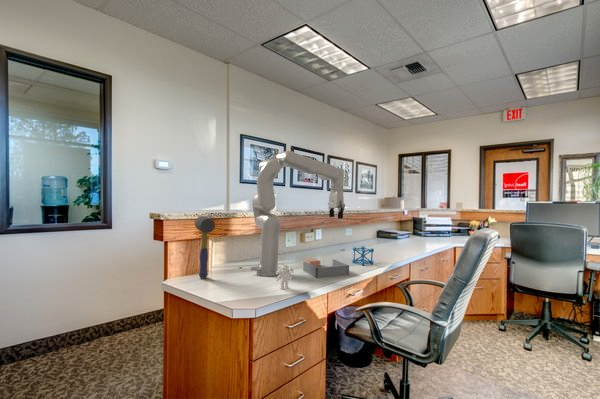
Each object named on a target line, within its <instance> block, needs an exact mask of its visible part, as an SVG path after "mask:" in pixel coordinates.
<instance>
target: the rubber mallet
mask: <svg viewBox="0 0 600 399" xmlns="http://www.w3.org/2000/svg"><path fill="white" fill-rule="evenodd" d="M194 226H195V228H196V229H197V230H198V231H200V232H201V246H200V251H199V272H198V276H199V278H200V279H206V278H207V277H208V275H209V274H208V259H209V252H208V234H209V233H211V232H213V231H214V230H215V227H216V223H215V221H214V220H213V219H212V218H210V217H208V216H199V217H196V219H195V220H194Z"/></svg>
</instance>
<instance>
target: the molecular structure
mask: <svg viewBox="0 0 600 399" xmlns="http://www.w3.org/2000/svg"><path fill="white" fill-rule="evenodd" d="M352 251H353V259H352V260H351V263H352V264H356V263H358V264H360V265H361V266H363V267H364V266H365V265H368V264H370V265H373V264H374V262H375V261H374V260H373V252H374V251H375V249H374V248H373V247H371V248H366V247H365V246H361V247H355V246H354V247H353V248H352ZM356 252H357V254H359V255H360V256H359V257H358V258H356V257H355V256H356ZM370 253H371V254H370ZM368 254H370V256H371V258H370V259H369V258H367V257H366V255H368Z"/></svg>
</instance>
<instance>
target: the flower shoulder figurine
mask: <svg viewBox="0 0 600 399" xmlns="http://www.w3.org/2000/svg"><path fill="white" fill-rule="evenodd" d="M294 270H295V269H294V267H292V266H289V265H288V263H282V262H281V266H280V268H278V270H277V272H276V274H278V273H279V275H277V277H276V280H275V281H276V283H278V281H281V282H280V287H279V290H281V291H283V290H285V289H286V290H287V289H289V284H288V282H289V280H290V281H291V280H292V279H293V277H292V276H293V275H292V274H293V273H294ZM280 278H281V280H280Z"/></svg>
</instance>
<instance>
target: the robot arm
mask: <svg viewBox="0 0 600 399" xmlns="http://www.w3.org/2000/svg"><path fill="white" fill-rule="evenodd" d="M283 168H290V169H293V170H296V171H298V172H301V173H303V174H309V175H317V177H318V178H319V179H320V180H322V181H323V180H324V181H330V192H329V196H328V210H329V212H328V213H329V215H328V216H329V218H334V217H335V209H337V210H338V212H337V219H344V210H345V207H346V204H345V203H344V183H345V182H344V180H345V179H344V178H345V177H344V176H345V171H344V168H340V167H337V166H334V165H332V164H331V163H328V162H324V161H320V160H316V159H313V158H310V157H307V156H305V155H302V154H300V153H297V152H296V151H292V150H285V151H281V152H279V153H276V154H275V155H272V156H270V157H268V158H266V159H264V160H262V161H260V163H259V164H258V175H257V178H256V188H257V189H256V190H257V193H256V194H255V195H254V196H253V198H252V202H251V205H252V213H253V219H254V222H255V225H256V227H257V228H259V229H260V230H261V234H260V244H259V249H260V250H259V251H260V252H259V263H258V264H257V265H256V266H250V271H254V272H256V274H257V275H259V276H264V277H275V276H279V273H278V274H276V272H277V270H278V269H279V268H278V267H279V266H278V265H279V239H280V238H279V237H280V230H281V225H282V224H281V222H282V221H281V219H280V218H279V216H278V215H276V214H274V213H271V211H273V210H274V209H276V204H277V202H276V196H275V188H274V180H275V178H276V177H277V175H278V174H279V173H280V172H281V170H282V169H283Z"/></svg>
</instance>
